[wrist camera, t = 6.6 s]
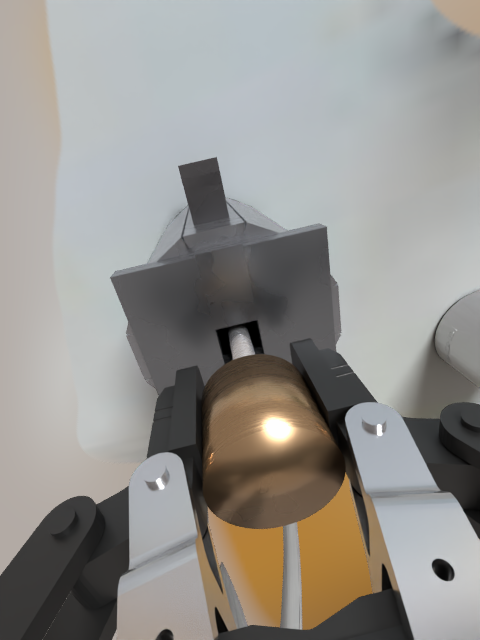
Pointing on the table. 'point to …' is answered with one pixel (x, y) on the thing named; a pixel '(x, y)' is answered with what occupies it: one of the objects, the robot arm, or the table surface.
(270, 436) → the plunger
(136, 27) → the table surface
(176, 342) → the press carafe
